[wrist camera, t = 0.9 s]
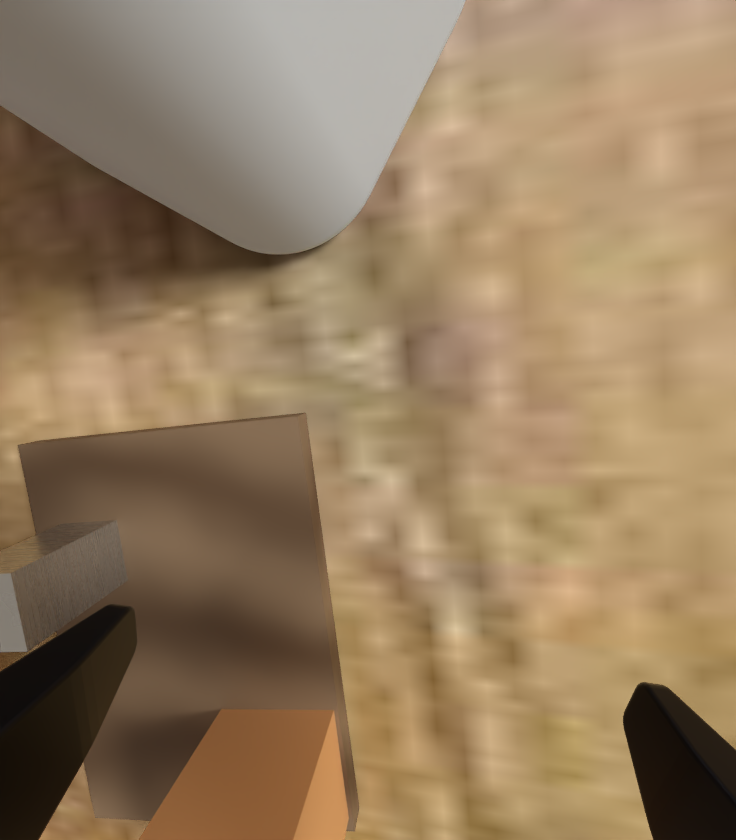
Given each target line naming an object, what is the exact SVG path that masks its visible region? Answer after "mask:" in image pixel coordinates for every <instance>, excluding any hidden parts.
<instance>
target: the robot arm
mask: <svg viewBox="0 0 736 840" xmlns="http://www.w3.org/2000/svg"><path fill="white" fill-rule="evenodd" d="M136 646H137V630H136V617H135V610H134V609H133V607H131V606H127V605H120V604H109V605H106V606H104V607H103V608H101V609H99V610H98V611H96V612H95V613H93V614H91V615H90V616H88V617H87V618H85V619H83V620H82V621H80V622H79V623H77V624H75V625H74V626H72V627H71V628H69V629H67V630H66V631H64V632H63V633H61V634H59V635H58V636H56V637H55V638H53V639H51V640H50V641H48V642H47V643H45V644H43V645H42V646H40V647H39V648H37V649H35V650H34V651H32V652H31V653H29V654H28V655H26V656H24V657H23V658H21V659H20V660H18V661H16V662H15V663H13V664H12V665H10V666H8V667H7V668H5V669H4V670H2V671H0V840H39V838H40V837H41V835H42V833H43V831H44V830H45V828H46V826H47V824H48V823H49V821H50V819H51V817H52V816H53V814H54V812H55V810H56V809H57V807H58V805H59V803H60V802H61V800H62V798H63V796H64V795H65V793H66V791H67V789H68V788H69V786H70V784H71V782H72V781H73V779H74V777H75V775H76V774H77V772H78V770H79V768H80V767H81V765H82V763H83V761H84V759H85V758H86V756H87V754H88V752H89V750H90V748H91V747H92V745H93V743H94V741H95V739H96V736H97V734H98V732H99V730H100V728H101V726H102V724H103V721H104V719H105V717H106V715H107V713H108V710H109V708H110V706H111V704H112V702H113V699H114V697H115V695H116V693H117V691H118V688H119V686H120V684H121V682H122V680H123V677H124V675H125V673H126V671H127V669H128V666H129V664H130V662H131V660H132V658H133V655H134V653H135V650H136ZM623 725H624V731H625V735H626V739H627V742H628V746H629V750H630V754H631V758H632V762H633V766H634V770H635V774H636V778H637V782H638V786H639V790H640V793H641V797H642V801H643V805H644V809H645V813H646V817H647V820H648V824H649V827H650V831H651V834H652V837H653V840H736V750H735V749H734V748H733V747H732V746H731V745H730V744H729V743H728V742H727V741H725V740H724V739H723V738H722V737H721V736H720V735H719V734H718V733H717V732H716V731H715V730H714V729H712V728H711V727H710V726H709V725H708V724H707V723H706V722H705V721H704V720H703V719H702V718H701V717H699V716H698V715H697V714H696V713H695V712H694V711H693V710H692V709H691V708H690V707H689V706H688V705H686V704H685V703H684V702H683V701H682V700H681V699H680V698H679V697H678V696H677V695H676V694H674V693H673V692H672V691H671V690H670V689H669V688H667V687H666V686H663V685H659V684H653V683H646V682H642V683H640V684H638V685H637V687H636V689H635V691H634V693H633V695H632V697H631V699H630V701H629V703H628V705H627V707H626V709H625V712H624V716H623Z"/></svg>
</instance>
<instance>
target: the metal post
mask: <svg viewBox="0 0 736 840" xmlns="http://www.w3.org/2000/svg"><path fill="white" fill-rule="evenodd" d="M126 581H128V578H127V573H126V567H125V562H124V557H123V551H122V546H121V541H120V535H119V530H118V524H117V520H109V521H95V522H80V523H66V524H60V525H57V526H55V527H53V528H51V529H48V530H46V531H44V532H42V533H39V534H37V535H35V536H32V537H30V538H28V539H26V540H23V541H21V542H19V543H17V544H14V545H12V546H10V547H7V548H5V549H3V550H1V551H0V652H28V651H29V650H31V649H32V648H33V647H35V646H36V645H38V644H39V643H40V642H42V641H43V640H45V639H46V638H47V637H49V636H50V635H52V634H53V633H54V632H56V631H57V630H59V629H60V628H61V627H63V626H64V625H66V624H67V623H69V622H70V621H71V620H73V619H74V618H76V617H77V616H78V615H80V614H81V613H83V612H84V611H85V610H87V609H88V608H90V607H91V606H92V605H94V604H95V603H97V602H98V601H100V600H101V599H102V598H104V597H105V596H107V595H108V594H109V593H111V592H112V591H114V590H115V589H116V588H118V587H119V586H121V585H122V584H123V583H125V582H126Z"/></svg>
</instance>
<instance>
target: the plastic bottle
mask: <svg viewBox="0 0 736 840" xmlns="http://www.w3.org/2000/svg"><path fill="white" fill-rule="evenodd" d="M465 1H466V0H0V106H2V107H3V108H5V109H7V110H8V111H10V112H11V113H13V114H14V115H16V116H17V117H19V118H20V119H22V120H23V121H25V122H27V123H28V124H30V125H31V126H33V127H34V128H36V129H37V130H39V131H40V132H42V133H43V134H45V135H47V136H48V137H50V138H51V139H53V140H54V141H56V142H57V143H59V144H60V145H62V146H64V147H65V148H67V149H68V150H70V151H71V152H73V153H74V154H76V155H77V156H79V157H80V158H82V159H84V160H85V161H87V162H88V163H90V164H91V165H93V166H95V167H96V168H98V169H100V170H102V171H104V172H105V173H107V174H109V175H111V176H113V177H114V178H116V179H118V180H120V181H122V182H123V183H125V184H127V185H129V186H131V187H132V188H134V189H136V190H138V191H140V192H141V193H143V194H145V195H147V196H149V197H150V198H152V199H154V200H156V201H158V202H159V203H161V204H163V205H165V206H167V207H168V208H170V209H172V210H174V211H176V212H177V213H179V214H181V215H183V216H185V217H186V218H188V219H190V220H192V221H194V222H196V223H197V224H199V225H201V226H203V227H205V228H206V229H208V230H210V231H212V232H214V233H215V234H217V235H219V236H221V237H223V238H224V239H226V240H228V241H230V242H232V243H234V244H236V245H238V246H240V247H242V248H245V249H248V250H251V251H255V252H259V253H265V254H279V255H280V254H292V253H298V252H302V251H306V250H309V249H312V248H314V247H317V246H319V245H321V244H323V243H325V242H327V241H329V240H330V239H332V238H333V237H335V236H336V235H337V234H339V233H340V232H341V231H342V230H343V229H345V228H346V227H347V226H348V225H349V224H350V223H351V222H352V221H353V220H354V218H355V217H356V216H357V215H358V214H359V212H360V211H361V209H362V208H363V206H364V205H365V203H366V202H367V200H368V198H369V196H370V194H371V192H372V190H373V188H374V186H375V184H376V182H377V180H378V178H379V176H380V174H381V172H382V170H383V168H384V166H385V164H386V162H387V160H388V158H389V156H390V154H391V152H392V150H393V148H394V146H395V144H396V142H397V140H398V138H399V136H400V134H401V132H402V130H403V128H404V126H405V124H406V122H407V120H408V118H409V116H410V114H411V112H412V110H413V108H414V106H415V104H416V102H417V100H418V98H419V96H420V94H421V92H422V90H423V88H424V86H425V84H426V82H427V80H428V78H429V76H430V74H431V73H432V71H433V69H434V67H435V65H436V63H437V61H438V59H439V57H440V55H441V53H442V51H443V49H444V47H445V45H446V43H447V41H448V39H449V37H450V35H451V33H452V31H453V29H454V27H455V25H456V22H457V20H458V18H459V16H460V14H461V11H462V9H463V6H464V3H465Z"/></svg>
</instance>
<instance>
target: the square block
mask: <svg viewBox="0 0 736 840" xmlns="http://www.w3.org/2000/svg"><path fill="white" fill-rule="evenodd" d="M348 820H349V815H348V808H347V801H346V794H345V787H344V779H343V772H342V765H341V758H340V751H339V743H338V736H337V729H336V722H335V714H334V710H260V709H221V710H220V712H219V714H218V715H217V717H216V718H215V720H214V721H213V723H212V725H211V726H210V728H209V729H208V731H207V733H206V734H205V736H204V737H203V739H202V740H201V742H200V744H199V745H198V747H197V748H196V750H195V751H194V753H193V755H192V756H191V758H190V759H189V761H188V763H187V764H186V766H185V767H184V769H183V770H182V772H181V774H180V775H179V777H178V778H177V780H176V782H175V783H174V785H173V786H172V788H171V789H170V791H169V793H168V794H167V796H166V797H165V799H164V800H163V802H162V804H161V805H160V807H159V808H158V810H157V812H156V813H155V815H154V816H153V818H152V819H151V821H150V823H149V824H148V826H147V827H146V829H145V830H144V832H143V834H142V835H141V837H140V838H139V840H344V839H345V834H346V830H347V825H348Z"/></svg>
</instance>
